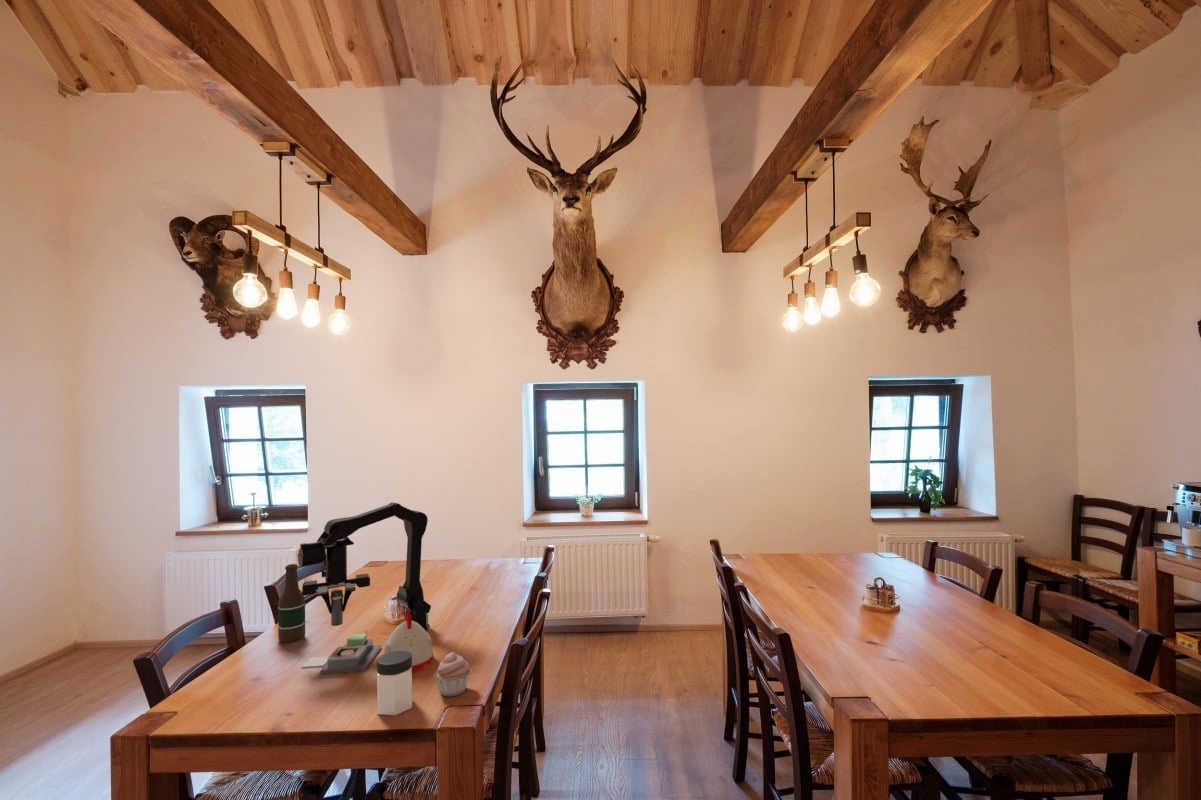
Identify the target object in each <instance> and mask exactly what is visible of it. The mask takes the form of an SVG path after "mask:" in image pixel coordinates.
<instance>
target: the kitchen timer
mask: <svg viewBox="0 0 1201 800" xmlns="http://www.w3.org/2000/svg"><path fill="white" fill-rule="evenodd" d="M394 651H407V652H410V653H411V654H412V672H416V671H420V670H422V669H424V668H426V667H429V665H430V664H432V663H433V661H434V651H433V642H432V637H431V635H430V634H429V633H428V632H427V631H425V630H424V628H423V627H422V626H421V625H419V624H418V623H416V622H414V621H412V619H411V613H410V611H409V609H408V610H406V609H405V612H404V621H403V622H401V623H400V624H399V625H397V627H395V628H394V630H393V631H392V632H391V634H390V636H389V638H388V639H386V640H385V642H384V648H383V654H382V655H384V654H386V653H389V652H394Z"/></svg>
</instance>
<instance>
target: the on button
mask: <svg viewBox="0 0 1201 800" xmlns="http://www.w3.org/2000/svg"><path fill="white" fill-rule="evenodd" d="M367 639H368V634H367V633H357V634H356V633H355V634H351V635H350V636H349V638H348V639H346V644H347V646H361V645H364V643H365V642H366V641H367Z"/></svg>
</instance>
